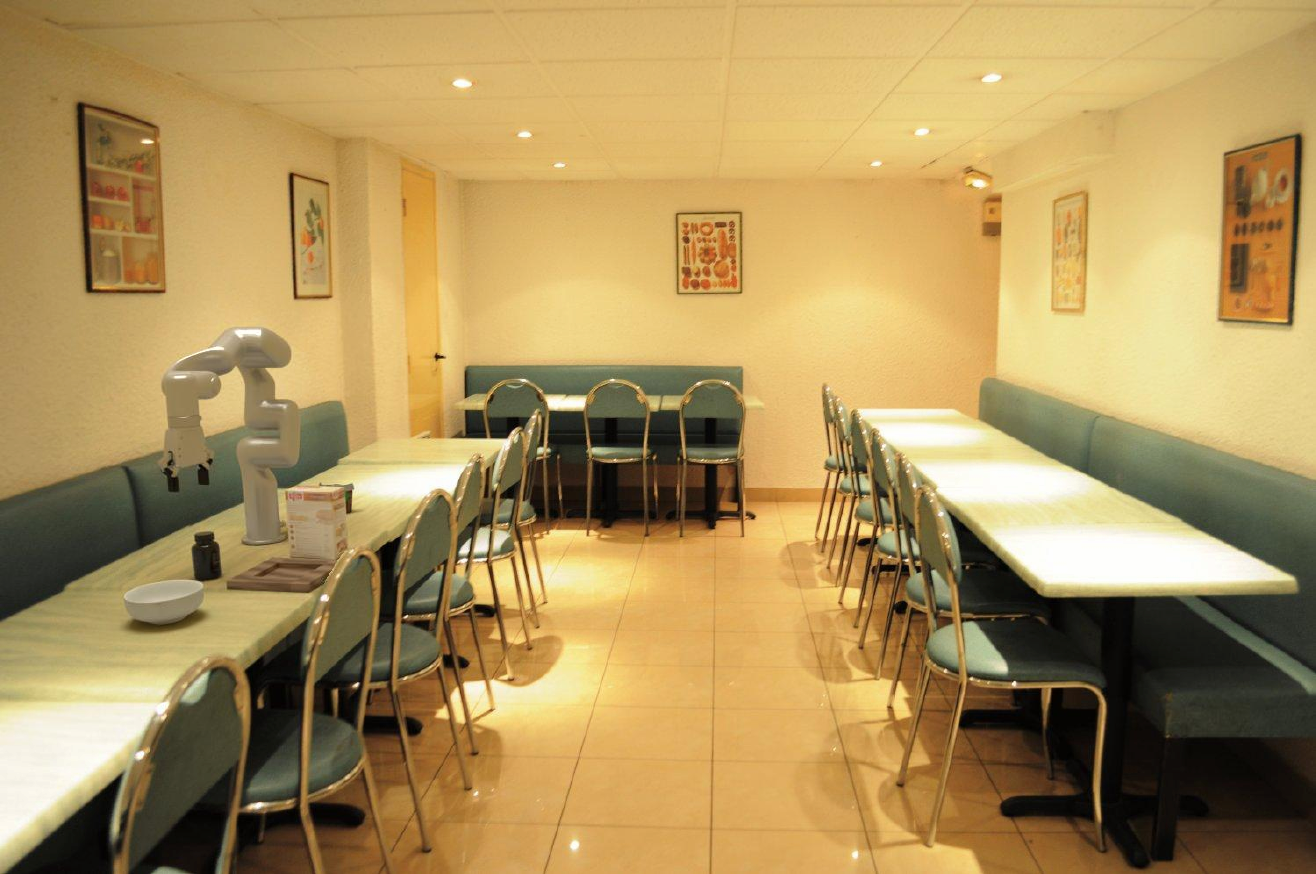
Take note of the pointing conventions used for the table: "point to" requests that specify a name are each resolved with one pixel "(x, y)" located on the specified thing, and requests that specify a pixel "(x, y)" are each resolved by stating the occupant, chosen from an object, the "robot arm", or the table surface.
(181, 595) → the cereal bowl
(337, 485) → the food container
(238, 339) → the robot arm
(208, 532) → the supplement bottle
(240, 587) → the wooden tray
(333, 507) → the coffeecake box
